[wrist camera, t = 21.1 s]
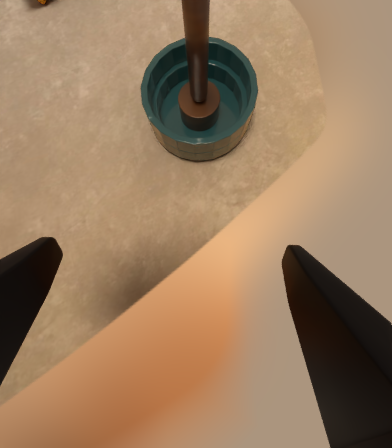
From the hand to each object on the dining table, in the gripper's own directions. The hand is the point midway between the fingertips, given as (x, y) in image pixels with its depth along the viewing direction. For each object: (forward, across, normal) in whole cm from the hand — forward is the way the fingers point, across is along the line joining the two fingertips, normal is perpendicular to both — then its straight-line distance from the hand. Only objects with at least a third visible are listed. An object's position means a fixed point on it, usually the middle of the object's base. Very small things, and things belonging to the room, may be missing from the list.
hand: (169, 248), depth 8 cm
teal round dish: (+20, 0, 0) cm, 20 cm away
